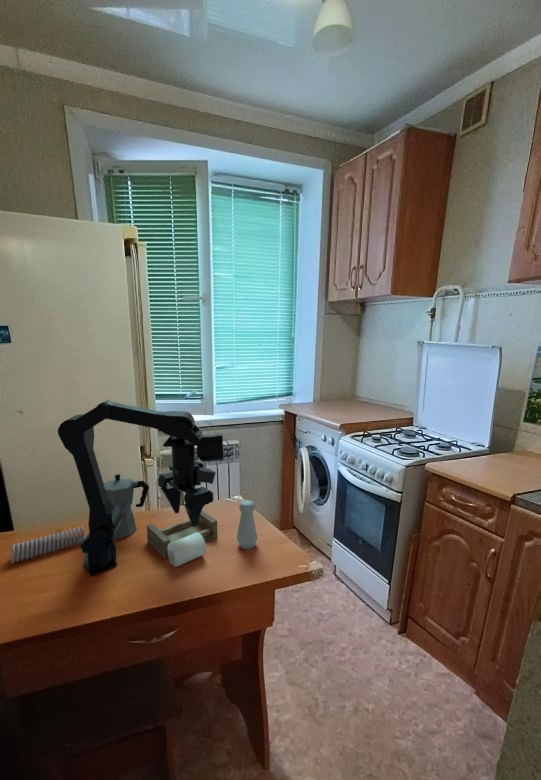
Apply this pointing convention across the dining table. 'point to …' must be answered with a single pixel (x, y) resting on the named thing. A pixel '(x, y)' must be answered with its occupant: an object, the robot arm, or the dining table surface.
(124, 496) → the coffeepot
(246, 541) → the salt shaker
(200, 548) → the cylinder
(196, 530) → the cradle
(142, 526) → the dining table surface
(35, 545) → the coil
